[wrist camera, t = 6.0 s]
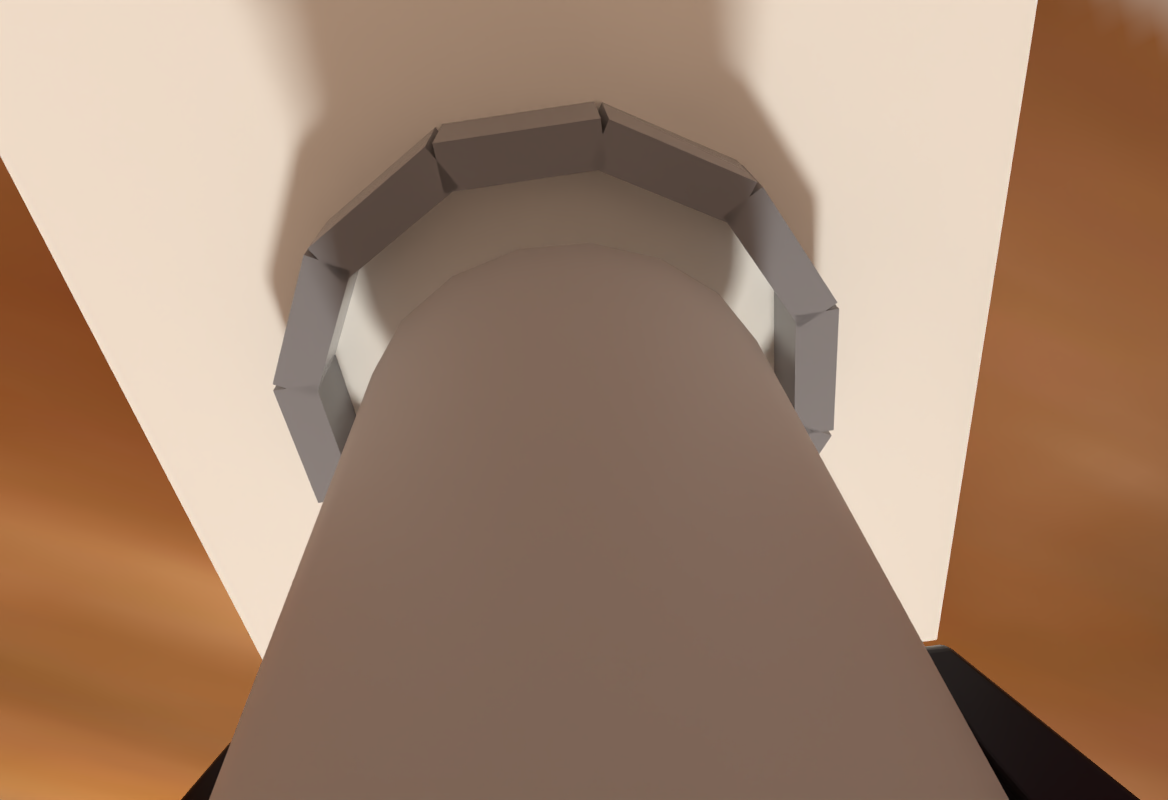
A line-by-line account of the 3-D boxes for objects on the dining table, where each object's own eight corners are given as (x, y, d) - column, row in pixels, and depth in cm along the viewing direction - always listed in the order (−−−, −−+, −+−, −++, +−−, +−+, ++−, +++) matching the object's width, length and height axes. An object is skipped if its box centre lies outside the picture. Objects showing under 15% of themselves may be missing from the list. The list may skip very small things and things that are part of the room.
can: (289, 360, 14) (-399, 1520, 4) (647, 139, 12) (1211, 1141, 2) (516, 605, 17) (486, 1554, 7) (820, 459, 16) (1349, 1425, 5)
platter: (1048, -309, 12) (1164, -365, 10) (921, 612, 22) (962, 684, 20) (-101, -126, 12) (-238, -141, 10) (306, 696, 22) (282, 776, 20)
